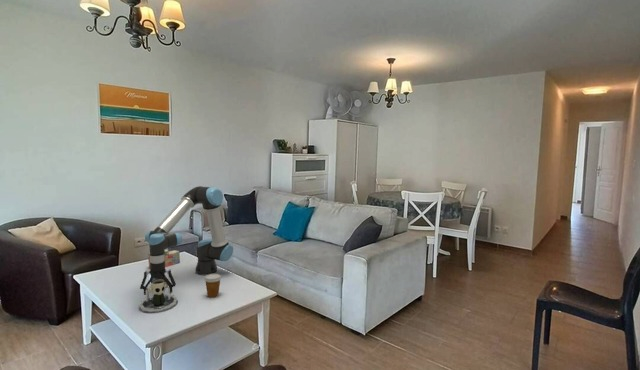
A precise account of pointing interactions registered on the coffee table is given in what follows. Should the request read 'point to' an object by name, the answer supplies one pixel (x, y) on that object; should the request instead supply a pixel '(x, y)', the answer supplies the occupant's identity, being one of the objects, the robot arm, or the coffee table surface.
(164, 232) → the robot arm
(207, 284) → the disposable coffee cup
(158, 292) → the character mug
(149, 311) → the silver metal tray
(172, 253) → the stack of blocks
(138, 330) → the coffee table surface
